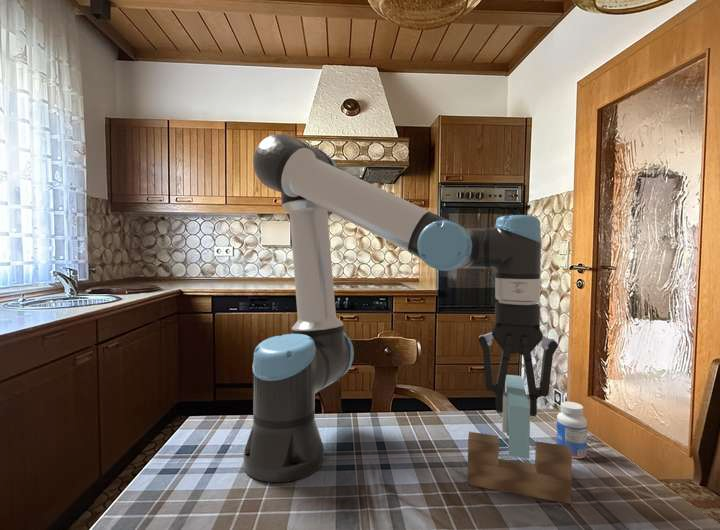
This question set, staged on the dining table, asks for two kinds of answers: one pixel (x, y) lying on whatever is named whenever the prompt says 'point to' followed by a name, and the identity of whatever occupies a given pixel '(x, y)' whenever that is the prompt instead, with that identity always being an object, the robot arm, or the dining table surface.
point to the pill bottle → (572, 429)
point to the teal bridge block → (517, 417)
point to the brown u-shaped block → (520, 469)
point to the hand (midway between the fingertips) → (515, 430)
